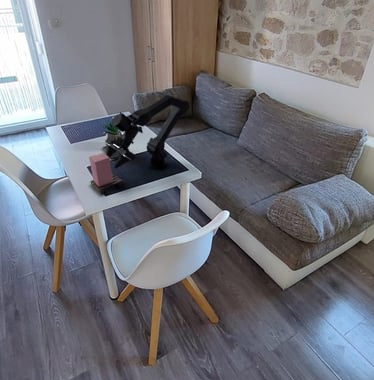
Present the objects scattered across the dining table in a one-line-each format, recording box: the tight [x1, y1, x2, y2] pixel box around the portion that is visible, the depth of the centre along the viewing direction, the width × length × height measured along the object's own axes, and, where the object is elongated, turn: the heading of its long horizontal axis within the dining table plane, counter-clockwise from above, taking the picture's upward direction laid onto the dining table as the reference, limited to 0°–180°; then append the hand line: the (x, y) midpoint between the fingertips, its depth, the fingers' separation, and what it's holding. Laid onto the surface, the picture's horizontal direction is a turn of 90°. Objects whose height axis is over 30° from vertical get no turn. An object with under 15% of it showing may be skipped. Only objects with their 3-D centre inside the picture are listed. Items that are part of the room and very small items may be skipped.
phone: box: [102, 145, 123, 160], centre depth 177 cm, size 8×1×15 cm
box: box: [88, 152, 114, 187], centre depth 142 cm, size 7×6×13 cm
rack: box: [89, 172, 123, 196], centre depth 147 cm, size 12×10×3 cm
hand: (110, 164), depth 144 cm, fingers open, 9 cm apart
